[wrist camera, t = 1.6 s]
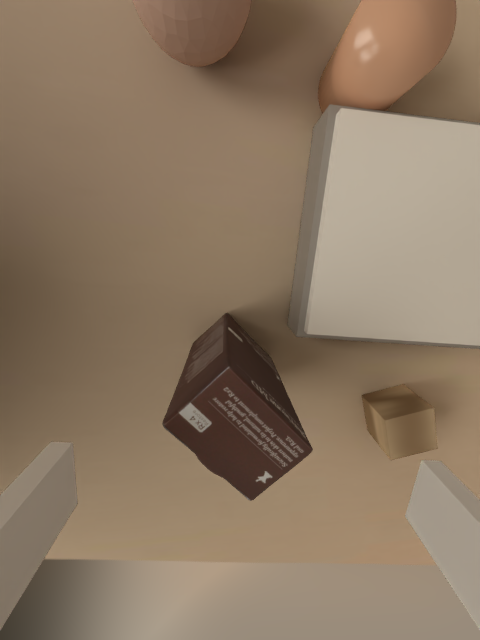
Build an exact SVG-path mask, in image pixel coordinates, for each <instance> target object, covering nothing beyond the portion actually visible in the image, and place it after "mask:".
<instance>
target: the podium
mask: <svg viewBox="0 0 480 640" xmlns="http://www.w3.org/2000/svg"><path fill="white" fill-rule="evenodd" d="M287 325H288V327H289V328H290V329H291V330H292V332H293V333H294V334H295V336H296V337H308V338H323V339H338V340H352V341H367V342H382V343H397V344H412V345H427V346H442V347H456V348H471V349H480V123H476V122H468V121H460V120H452V119H444V118H436V117H428V116H420V115H412V114H404V113H396V112H388V111H380V110H372V109H364V108H356V107H348V106H340V105H332V104H329V106H328V107H327V109H326V110H325V112H324V113H323V114H322V116H321V117H320V119H319V120H318V122H317V123H316V124H315V126H314V127H313V135H312V142H311V150H310V157H309V165H308V173H307V180H306V188H305V195H304V203H303V210H302V218H301V226H300V233H299V241H298V248H297V256H296V263H295V271H294V279H293V286H292V294H291V301H290V309H289V316H288V324H287Z"/></svg>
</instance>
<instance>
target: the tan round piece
mask: <svg viewBox="0 0 480 640" xmlns="http://www.w3.org/2000/svg"><path fill="white" fill-rule="evenodd" d="M455 24H456V1H455V0H361V2H360V4H359V6H358V8H357V10H356V11H355V13H354V15H353V17H352V19H351V21H350V23H349V24H348V26H347V28H346V30H345V32H344V34H343V36H342V38H341V39H340V41H339V43H338V45H337V47H336V49H335V51H334V52H333V54H332V56H331V58H330V60H329V62H328V64H327V65H326V67H325V69H324V71H323V73H322V76H321V79H320V82H319V88H318V99H319V105H320V109H321V111H322V113H324V112H325V110H326V109H327V107H328V106H329V104H332V105H340V106H348V107H356V108H364V109H372V110H380V111H386V110H387V109H388V108H389V107H390V106H391V105H392V104H394V103H395V102H396V101H397V100H398V99H399V98H400V97H402V96H403V95H404V94H405V93H406V92H407V91H408V90H409V89H411V88H412V87H413V86H414V85H415V84H416V83H417V82H419V81H420V80H421V79H422V78H423V77H424V76H425V75H426V74H428V73H429V72H430V71H431V70H432V69H433V68H434V67H435V66H436V65H437V64H438V63H439V61H440V60H441V59H442V57H443V56H444V54H445V53H446V51H447V49H448V47H449V45H450V42H451V40H452V37H453V33H454V29H455Z"/></svg>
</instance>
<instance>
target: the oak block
mask: <svg viewBox="0 0 480 640" xmlns="http://www.w3.org/2000/svg"><path fill="white" fill-rule="evenodd" d="M362 401H363V407H364V412H365V418H366V424H367V430H368V431H369V433H370V434H371V435H372V437H373V438H374V439H375V441H376V442H377V443H378V444H379V446H380V447H381V448H382V450H383V451H384V452H385V453H386V455H387V456H388V457H389V459H390V460H394V459H398V458H402V457H406V456H410V455H414V454H418V453H422V452H426V451H430V450H434V449H437V448H438V446H437V436H436V425H435V414H434V408H433V407H432V406H431V405H430V404H428V403H427V402H426V401H424V400H423V399H422V398H420V397H419V396H418V395H417V394H415V393H414V392H413V391H411V390H410V389H409V388H407V387H406V386H405V385H403V384H402V385H398V386H394V387H390V388H387V389H383V390H379V391H375V392H372V393H368V394H364V395H362Z"/></svg>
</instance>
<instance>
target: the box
mask: <svg viewBox="0 0 480 640" xmlns="http://www.w3.org/2000/svg"><path fill="white" fill-rule="evenodd" d="M162 424H163V426H164V428H165V429H166V430H167V431H169V432H170V433H171V434H172V435H174V436H175V437H176V438H177V439H178V440H179V441H181V442H182V443H183V444H184V445H185V446H187V447H188V448H189V449H190V450H191V451H192V452H194V453H195V454H196V456H197V457H198V459H199V460H200V462H201V463H202V464H203V465H204V466H205V467H206V468H207V469H209V470H210V471H211V472H213V473H214V474H216V475H218V476H220V477H223V478H224V479H225V480H227V481H228V482H229V483H230V484H231V485H232V486H234V487H235V488H236V489H237V490H238V491H239V492H240V493H242V494H243V495H244V496H245V497H246V498H247V499H248V500H250V501H251V500H254V499H255V498H256V497H257V496H258V495H259V494H261V493H262V492H263V491H264V490H266V489H267V488H268V487H269V486H270V485H272V484H273V483H274V482H275V481H277V480H278V479H279V478H280V477H282V476H283V475H284V474H286V473H287V472H288V471H289V470H291V469H292V468H293V467H294V466H296V465H297V464H298V463H299V462H301V461H302V460H303V459H304V458H305V457H306V456H308V455H309V454H310V453H311V452H312V450H313V449H312V447H311V445H310V443H309V441H308V439H307V437H306V435H305V432H304V430H303V428H302V426H301V423H300V421H299V419H298V417H297V415H296V413H295V410H294V408H293V406H292V403H291V401H290V399H289V397H288V395H287V392H286V390H285V388H284V386H283V383H282V381H281V379H280V376H279V374H278V372H277V370H276V368H275V366H274V363H273V361H272V359H271V357H270V356H269V355H268V354H267V353H266V352H265V351H264V350H263V349H262V348H261V347H260V346H259V345H257V344H256V343H255V341H254V340H253V339H252V338H251V337H250V336H249V335H248V334H247V333H245V331H244V330H243V329H242V328H241V327H240V326H239V325H238V324H237V323H236V322H235V321H234V320H233V318H232V317H231V316H230V315H229V314H228V313H226V314H224V315H223V316H222V317H221V318H220V319H219V320H218V321H217V322H216V323H215V324H213V325H212V326H211V327H210V328H209V329H208V330H207V331H206V332H205V333H204V334H203V335H201V336H200V337H199V338H198V339H197V340H196V341H195V342H194V343H193V345H192V347H191V350H190V353H189V356H188V359H187V361H186V364H185V367H184V369H183V372H182V374H181V377H180V379H179V382H178V385H177V387H176V390H175V393H174V395H173V398H172V400H171V403H170V405H169V408H168V410H167V413H166V415H165V418H164V420H163V423H162Z"/></svg>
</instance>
